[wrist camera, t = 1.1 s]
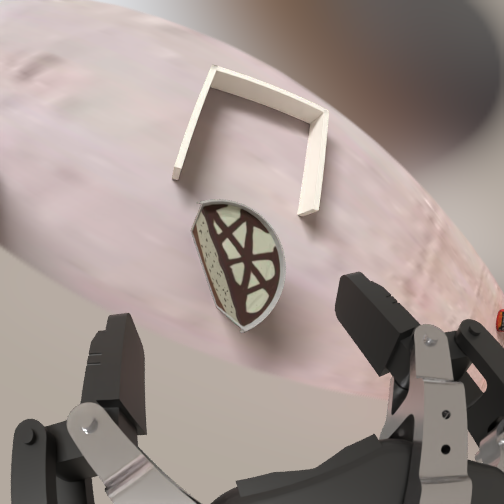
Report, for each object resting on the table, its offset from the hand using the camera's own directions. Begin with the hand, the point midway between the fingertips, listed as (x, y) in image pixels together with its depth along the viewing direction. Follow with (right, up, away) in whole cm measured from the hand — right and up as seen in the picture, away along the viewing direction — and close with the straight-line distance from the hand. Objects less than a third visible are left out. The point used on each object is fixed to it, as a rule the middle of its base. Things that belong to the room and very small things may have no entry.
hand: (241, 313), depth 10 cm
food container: (-3, +1, +23) cm, 23 cm away
